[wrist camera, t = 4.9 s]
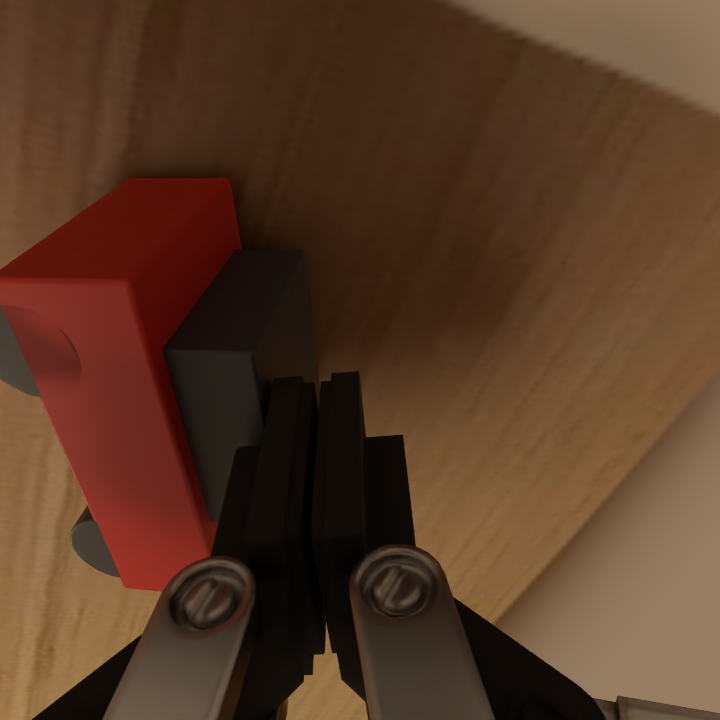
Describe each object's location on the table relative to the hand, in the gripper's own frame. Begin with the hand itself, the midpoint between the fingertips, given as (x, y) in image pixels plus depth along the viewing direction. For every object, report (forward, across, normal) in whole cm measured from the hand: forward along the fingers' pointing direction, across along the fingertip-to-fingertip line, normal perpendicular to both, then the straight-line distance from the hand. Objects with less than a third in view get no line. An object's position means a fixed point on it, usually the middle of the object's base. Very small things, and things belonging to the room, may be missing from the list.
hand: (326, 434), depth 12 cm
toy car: (+4, +2, 0) cm, 5 cm away
